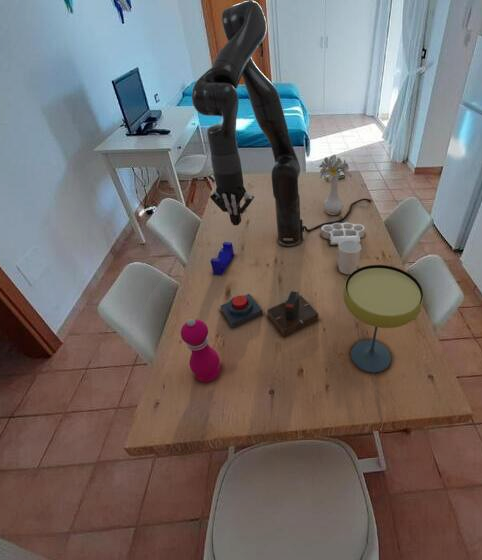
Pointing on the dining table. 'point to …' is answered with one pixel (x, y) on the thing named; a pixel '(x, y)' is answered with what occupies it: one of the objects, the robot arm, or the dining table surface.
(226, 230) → the dining table surface
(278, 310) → the switch base
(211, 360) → the pepper mill
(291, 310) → the selector knob handle
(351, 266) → the white cup
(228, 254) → the blue notched block
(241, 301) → the button
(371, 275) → the cocktail glass
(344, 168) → the flower vase
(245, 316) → the button box
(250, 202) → the robot arm
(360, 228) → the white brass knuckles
